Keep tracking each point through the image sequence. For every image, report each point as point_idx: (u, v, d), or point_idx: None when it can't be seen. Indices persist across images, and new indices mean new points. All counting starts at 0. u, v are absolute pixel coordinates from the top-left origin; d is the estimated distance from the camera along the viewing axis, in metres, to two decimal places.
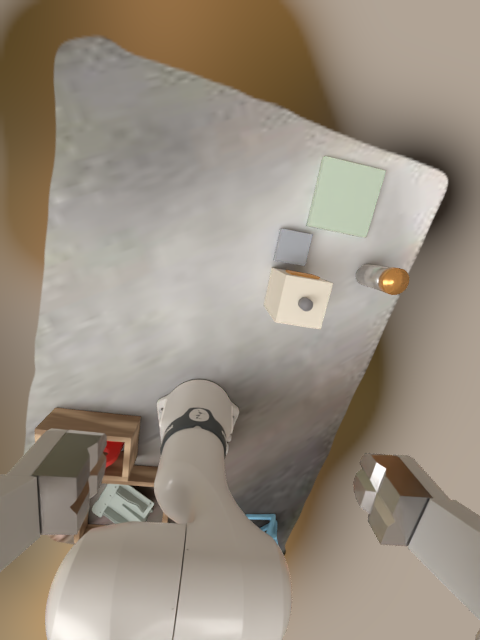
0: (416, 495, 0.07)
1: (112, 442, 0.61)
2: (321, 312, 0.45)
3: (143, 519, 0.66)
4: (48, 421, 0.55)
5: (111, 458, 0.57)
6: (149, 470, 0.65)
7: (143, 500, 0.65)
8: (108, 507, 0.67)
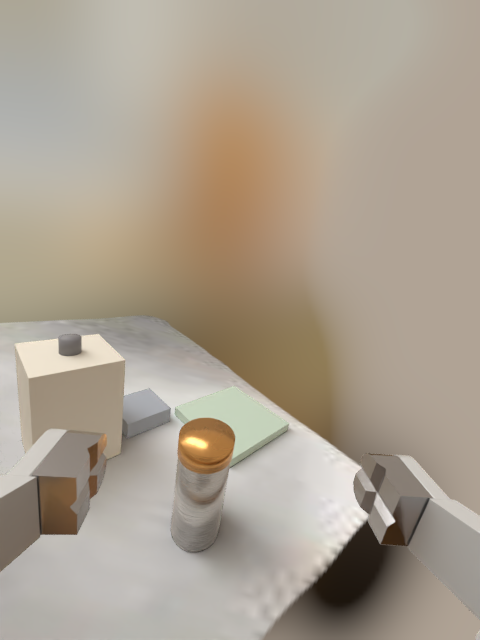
0: (416, 495, 0.07)
1: None
2: (65, 367, 0.25)
3: None
4: None
5: None
6: None
7: None
8: None
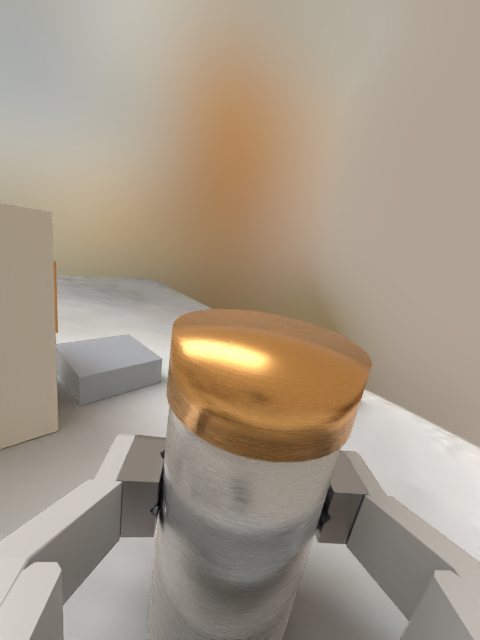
0: (352, 491, 0.07)
1: None
2: None
3: None
4: None
5: None
6: None
7: None
8: None
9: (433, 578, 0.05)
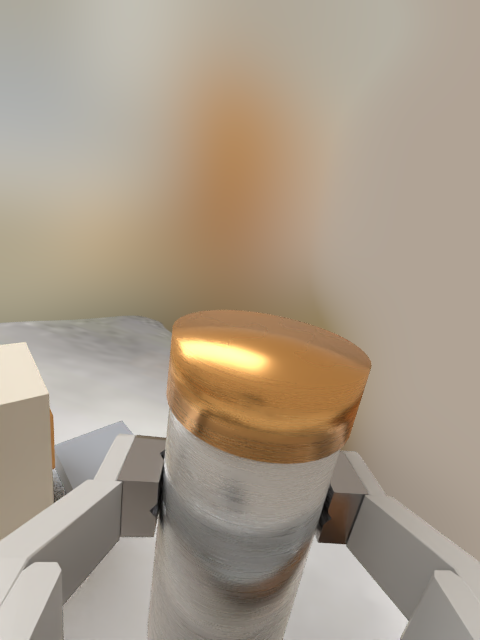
0: (352, 491, 0.07)
1: None
2: None
3: None
4: None
5: None
6: None
7: None
8: None
9: (433, 578, 0.05)
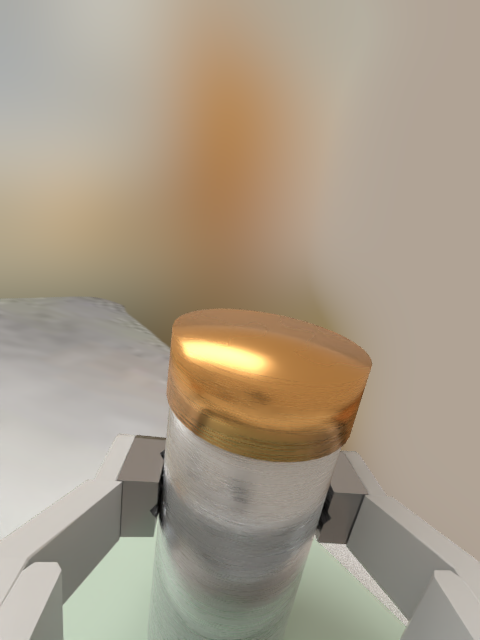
0: (352, 491, 0.07)
1: None
2: None
3: None
4: None
5: None
6: None
7: None
8: None
9: (433, 578, 0.05)
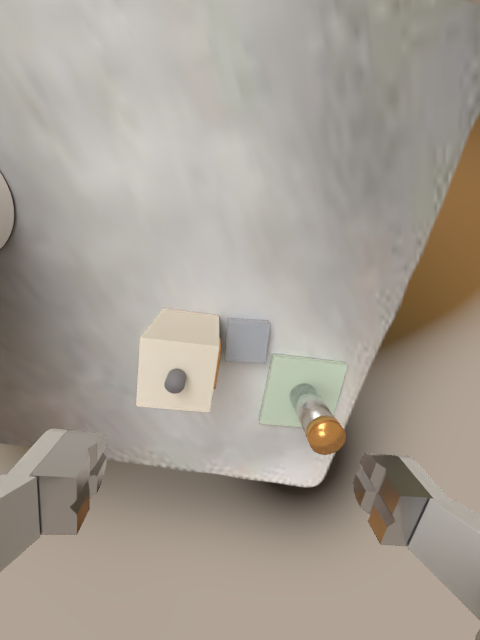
0: (416, 495, 0.07)
1: None
2: (163, 403, 0.29)
3: None
4: None
5: None
6: None
7: None
8: None
9: None
